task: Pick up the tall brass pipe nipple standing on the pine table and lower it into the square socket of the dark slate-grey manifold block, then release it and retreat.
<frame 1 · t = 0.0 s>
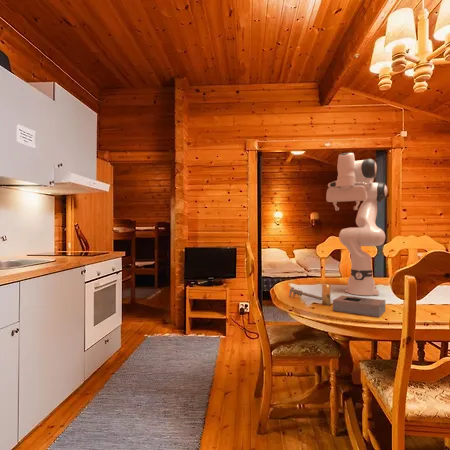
hand: (346, 210, 178), 48 cm above the table, fingers open, 8 cm apart
manifold block: (359, 310, 160), on the table
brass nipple: (326, 304, 173), on the table
caliper: (307, 299, 187), on the table
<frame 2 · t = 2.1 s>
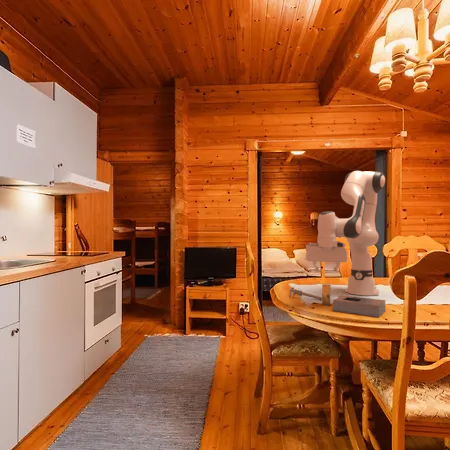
hand: (325, 270, 173), 17 cm above the table, fingers open, 8 cm apart
nothing on the table moved.
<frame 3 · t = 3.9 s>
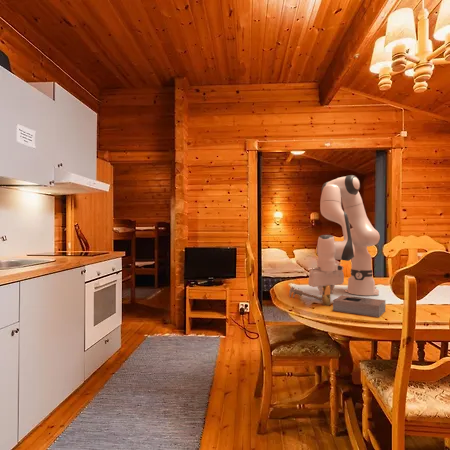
hand: (326, 294, 173), 5 cm above the table, fingers closed on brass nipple, 4 cm apart
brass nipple: (326, 304, 173), on the table, touching gripper
everything else where it was.
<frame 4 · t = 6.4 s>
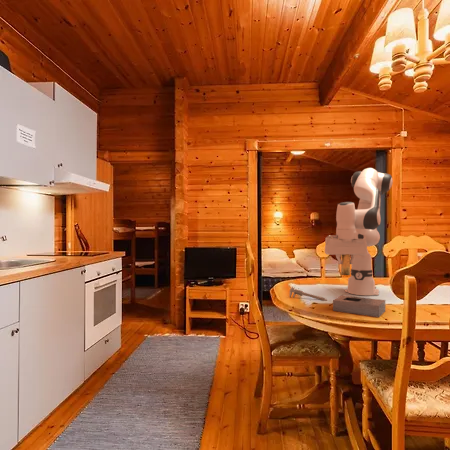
hand: (345, 264, 165), 21 cm above the table, fingers closed on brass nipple, 4 cm apart
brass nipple: (345, 274, 165), point 16 cm above the table, touching gripper
everything else where it was.
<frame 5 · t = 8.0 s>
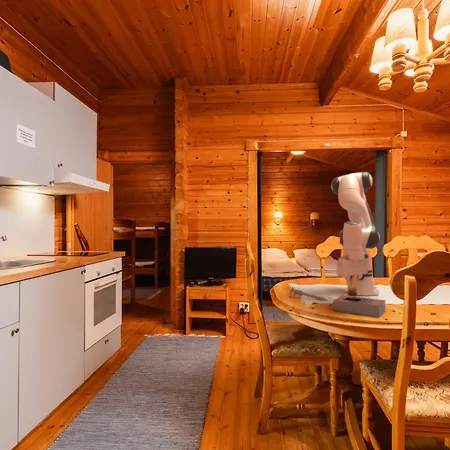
hand: (352, 284, 163), 12 cm above the table, fingers closed on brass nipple, 4 cm apart
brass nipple: (352, 295, 163), point 7 cm above the table, touching gripper
everything else where it was.
when the fingers open (7 cm above the table, at t = 9.4 s): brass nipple stays where it is, resting on manifold block.
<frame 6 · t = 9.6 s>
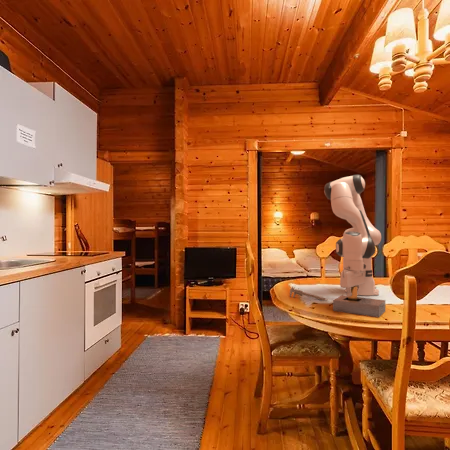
hand: (352, 295, 162), 7 cm above the table, fingers open, 6 cm apart
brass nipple: (352, 307, 162), point 1 cm above the table, touching manifold block
everything else where it was.
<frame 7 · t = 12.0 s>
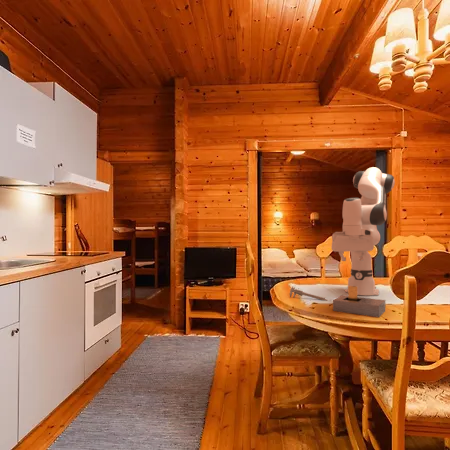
hand: (352, 260, 163), 23 cm above the table, fingers open, 8 cm apart
nothing on the table moved.
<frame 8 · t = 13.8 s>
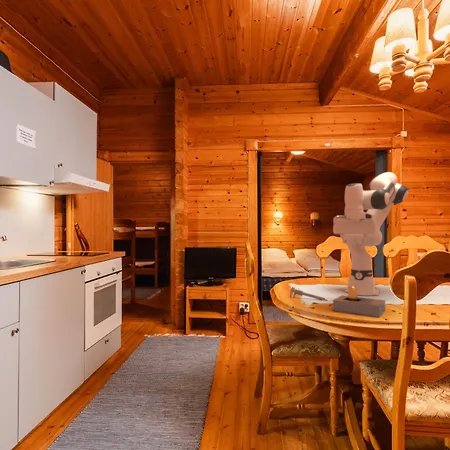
hand: (353, 243, 172), 31 cm above the table, fingers open, 8 cm apart
nothing on the table moved.
at the end: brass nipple 0.5 cm from the target spot on the manifold block, point 1.0 cm above the manifold block's base; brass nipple tilted 0°; the gripper is holding nothing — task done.
